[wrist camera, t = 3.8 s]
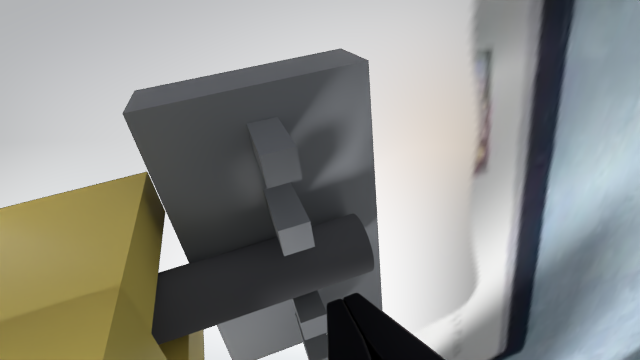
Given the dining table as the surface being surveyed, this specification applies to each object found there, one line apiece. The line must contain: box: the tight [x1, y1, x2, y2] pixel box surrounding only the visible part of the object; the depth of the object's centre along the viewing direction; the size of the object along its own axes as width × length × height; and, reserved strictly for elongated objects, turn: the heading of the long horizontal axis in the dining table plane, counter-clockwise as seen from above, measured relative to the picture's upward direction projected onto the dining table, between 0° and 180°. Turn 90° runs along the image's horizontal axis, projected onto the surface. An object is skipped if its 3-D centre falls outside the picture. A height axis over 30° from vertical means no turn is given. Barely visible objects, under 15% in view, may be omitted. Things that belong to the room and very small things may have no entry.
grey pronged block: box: [123, 49, 382, 360], centre depth 11 cm, size 10×6×4 cm, turn 8°
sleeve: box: [0, 172, 204, 360], centre depth 9 cm, size 5×5×7 cm
